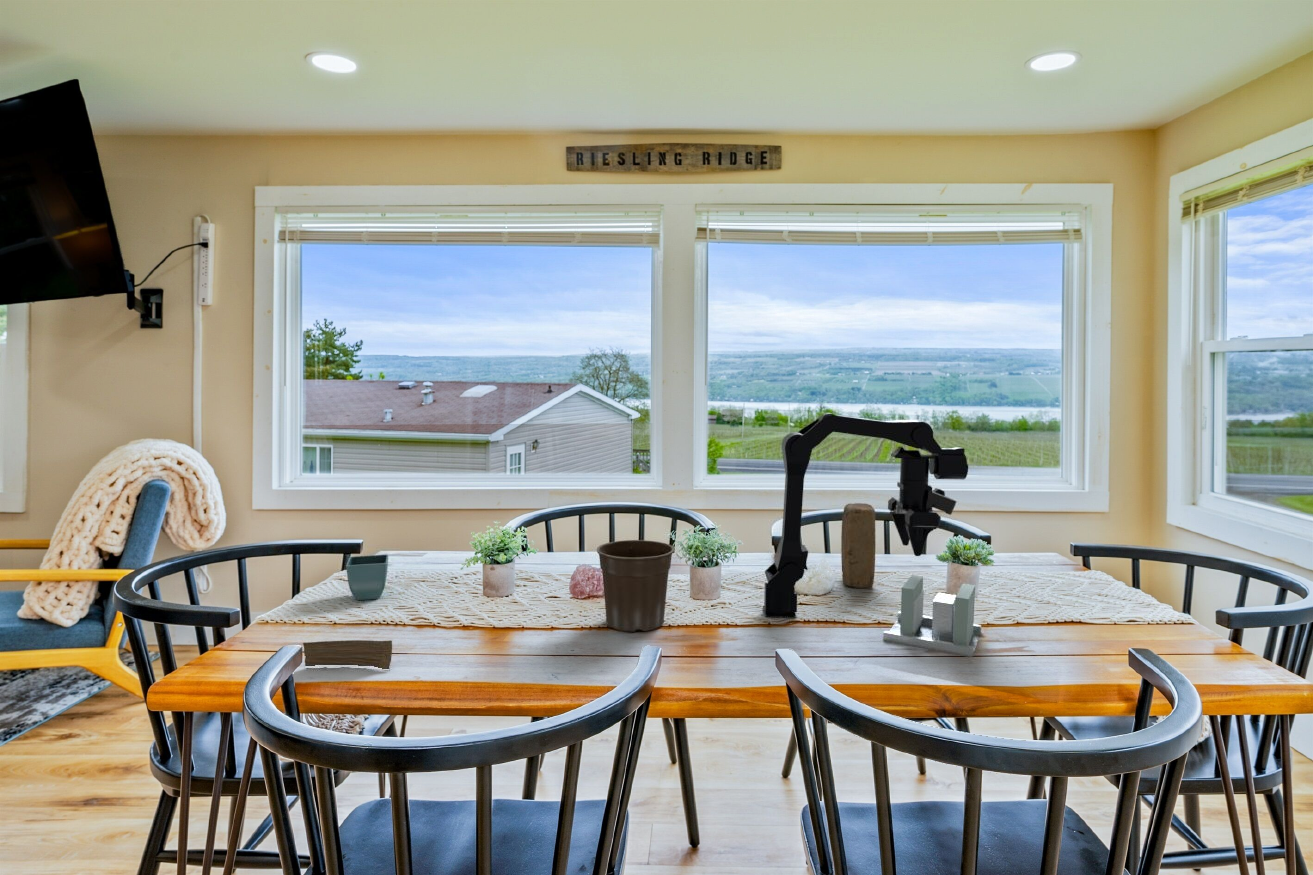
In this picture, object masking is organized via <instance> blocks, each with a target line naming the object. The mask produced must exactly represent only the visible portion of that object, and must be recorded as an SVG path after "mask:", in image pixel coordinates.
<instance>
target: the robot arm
mask: <svg viewBox="0 0 1313 875" xmlns="http://www.w3.org/2000/svg"><path fill="white" fill-rule="evenodd" d="M832 433H839V434H845V435H846V434H847V435H856V436H861V437H871V438H876V439H877V438H878V439H885V440H889V441H892V442H895V443H898V444H901V445H905V446H908V447H911V448H914V449H905V448H904V447H903V446H901V445H900V446H897V448H896V449H895V450H894V451H893V452H891V453H890V456H891V457H893V458H895V459H900V472H899V481H897V484H896V485H897V487H898V488H899V496H895V497H894V496H891V498H890V499H888V501H887V509H888V511H889V514H890V516H891V519H892V521H893V523H894V526H895V529H896V530H897V533H898V536H899V538H900V541H901V543H902V545H903V546H904V547H905V546H909V544H910V545H911V549H912V552H913V554H914V556H915V557H921V556H922V553H923V549H924V547H925V544H926V541H927V538H928V535H929V534H930V533H931V532H933V531H934V530H937V529H938V528H939V527H941V524H942V521H941V520H942V519H941V518H942V517H941V515H939V513H938V512H936V511H934V509H937V510H939V511H942V512H944V513H945V514H947V515H950V516H951V515H952V513H953V511H954V508H955V507H956V503H957V500H955V499H953V498H951V497H948V496H946V492H945V490H943V489H941V488H937V487H935V488H934V489H933V486H932V485H930V484H929V474H930V475H933V476H934V479H935V480H966V479H967V477H968V473H969V463H968V458H967V457H966V454H965V452H966V451H965V450H966V449H965V448H963V447H959V446H958V447H951V448H949V447H946V448H943V447H941V446H940V445H939V443H938V442H937V440H936V439H935V438H934V430H933V428H932V427H931V425H930V424H929V423H928V422H924V421H921V420H917V419H898V420H897V419H896V420H878V419H877V420H876V419H869V418H861V417H854V416H847V415H846V416H845V415H839V414H833V413H831V412H824V413H822V414H821V415H820V416H819V417H818V418H816V419H815V420H813V421H812V422H810V423H808V424H807V425H804V427H802V428H801V429H799V431H794V432H790V433H788V434H785V436H784V437H782V438H783V439H782V441H781V453H782V460H783V461H782V462H783V465H784V466H783V467H784V472H785V473H784V474H785V478H784V493H783V494H784V496H783V511H782V512H783V513H782V526H781V527H782V529H781V537H780V540H779V543H778V545H777V549H776V553H775V557H774V561H773V563H772V564H771V565H770V566H769V567H767V569H765V570H764V575H765V577H766V580H767V582H764V592H763V593H764V596H763V598H764V599H763V600H764V602H763V603H764V604H763V606H762V609H763V613H764V616H765V617H766V618H792V619H793V618H796V617H797V616H796V613H797V612H798V593H797V591H796V590H795V588H796V583H797V582H799V581H800V580H801V579H802V578H803V577H804V574H805V571H808V565H807V561H808V556H809V550H808V549H807V547H806V545H805V544H801V530H802V518H803V517H802V515H803V514H802V513H803V502H804V499H803V498H804V486H805V484H804V483H805V476H806V473H807V469H808V467H809V464H810V461H811V457H812V452H813V449H815V448H816V447H817V446H818V445H820V444H821V443H822V442H823V441H824V440H825V439H826V438H828V437H829V436H830V435H831V434H832ZM918 449H920V450H921V451H925V452H926V453H930V454H921V452H920V450H918Z"/></svg>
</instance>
